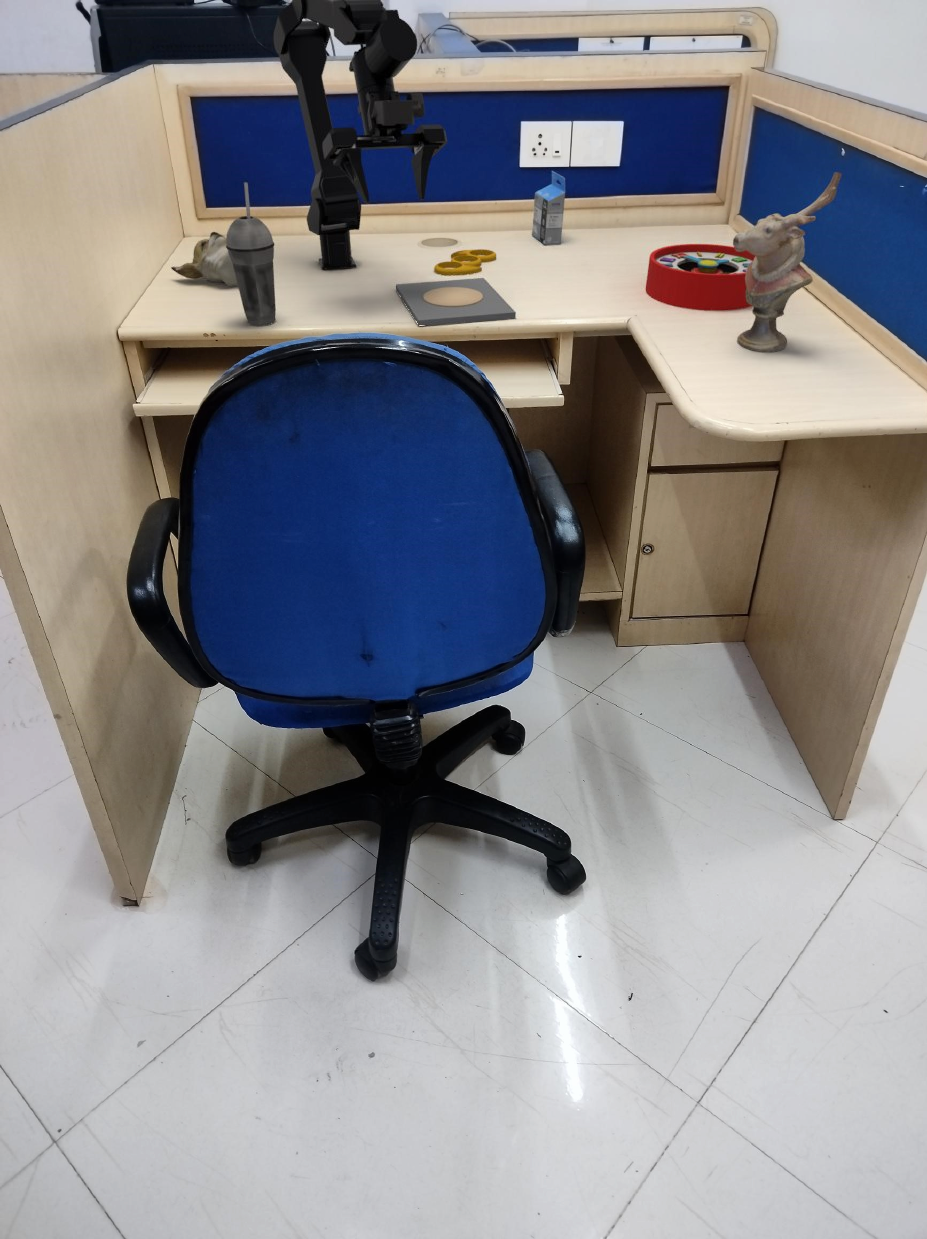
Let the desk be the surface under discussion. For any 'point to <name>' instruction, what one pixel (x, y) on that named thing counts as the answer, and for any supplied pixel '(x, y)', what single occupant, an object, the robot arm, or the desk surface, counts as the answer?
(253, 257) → the beverage cup
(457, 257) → the yellow joined rings
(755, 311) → the decorative bust
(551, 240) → the label tape box
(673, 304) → the toy clock
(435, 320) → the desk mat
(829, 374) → the desk surface
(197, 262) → the ceramic sculpture
